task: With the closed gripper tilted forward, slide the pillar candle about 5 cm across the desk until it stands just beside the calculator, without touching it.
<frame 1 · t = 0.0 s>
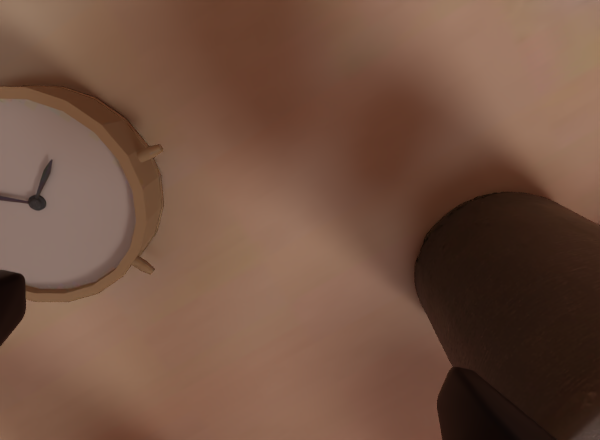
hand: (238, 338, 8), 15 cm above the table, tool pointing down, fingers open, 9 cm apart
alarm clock: (42, 180, 23), on the table
pillar candle: (495, 268, 23), on the table
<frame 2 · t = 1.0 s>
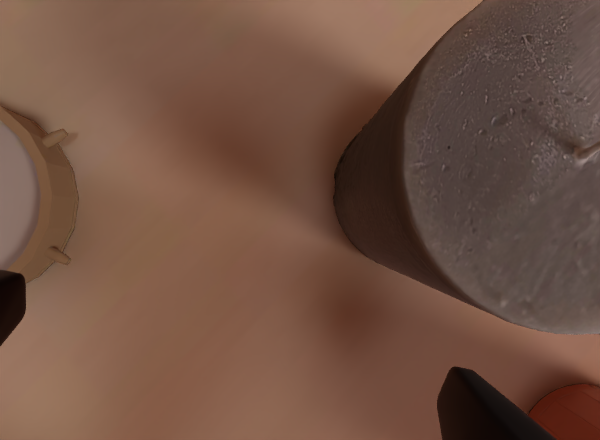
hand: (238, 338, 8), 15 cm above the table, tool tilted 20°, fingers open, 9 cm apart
pillar candle: (411, 192, 24), on the table
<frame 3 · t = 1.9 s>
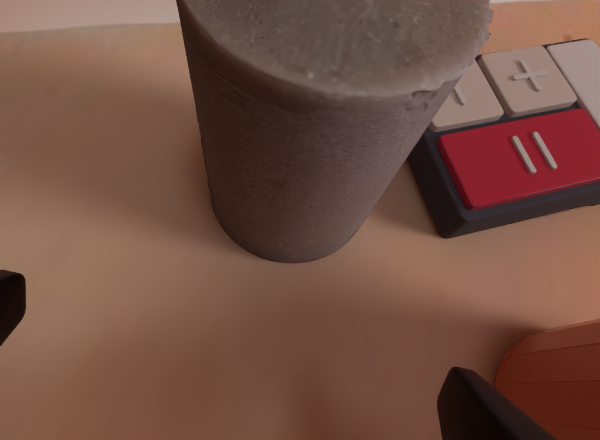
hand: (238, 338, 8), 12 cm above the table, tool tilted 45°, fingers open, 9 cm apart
pillar candle: (291, 190, 24), on the table
calculator: (503, 148, 27), on the table
pen pot: (566, 410, 20), on the table
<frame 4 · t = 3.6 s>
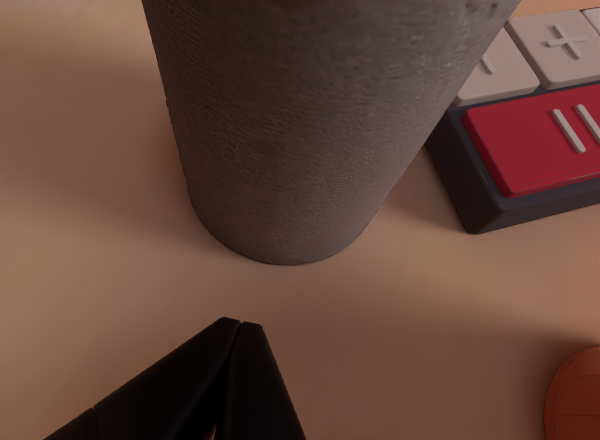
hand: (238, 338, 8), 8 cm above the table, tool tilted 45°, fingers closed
pillar candle: (287, 178, 20), on the table
calculator: (532, 131, 24), on the table
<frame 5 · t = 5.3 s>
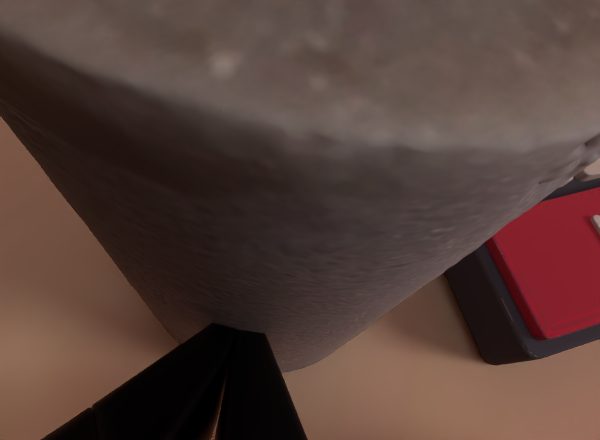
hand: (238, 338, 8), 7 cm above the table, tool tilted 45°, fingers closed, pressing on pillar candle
pillar candle: (267, 256, 17), on the table, touching gripper
calculator: (558, 215, 20), on the table
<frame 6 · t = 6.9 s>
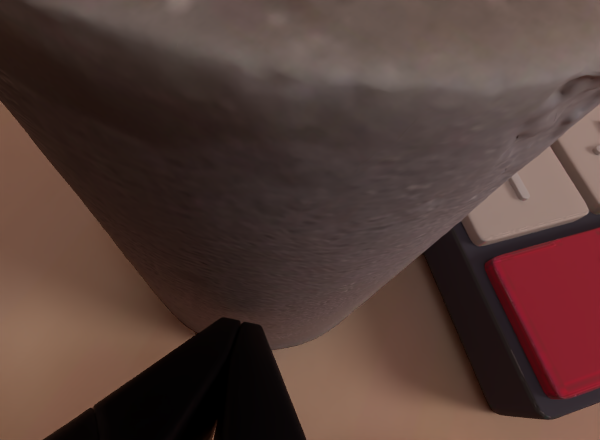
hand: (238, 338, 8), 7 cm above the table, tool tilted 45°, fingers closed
pillar candle: (266, 235, 17), on the table
calculator: (569, 244, 18), on the table
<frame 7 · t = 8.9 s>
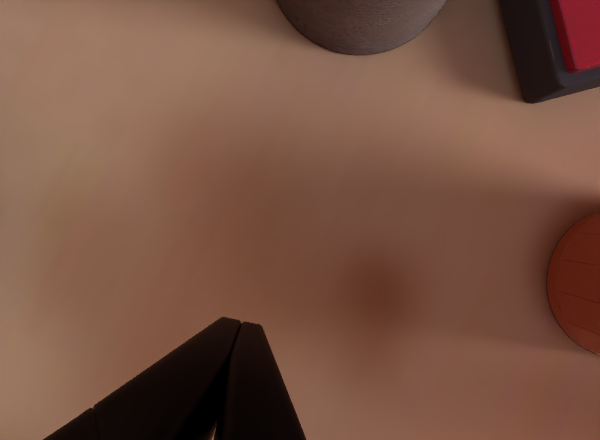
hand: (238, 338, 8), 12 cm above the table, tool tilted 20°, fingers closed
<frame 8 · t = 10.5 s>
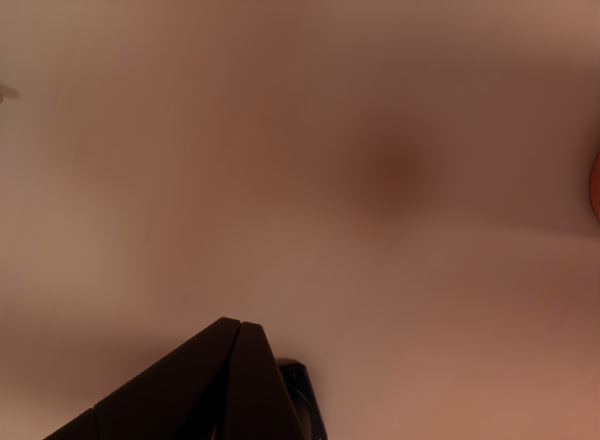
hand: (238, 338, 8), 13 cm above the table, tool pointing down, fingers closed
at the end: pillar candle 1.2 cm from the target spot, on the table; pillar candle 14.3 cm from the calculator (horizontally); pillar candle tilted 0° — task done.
